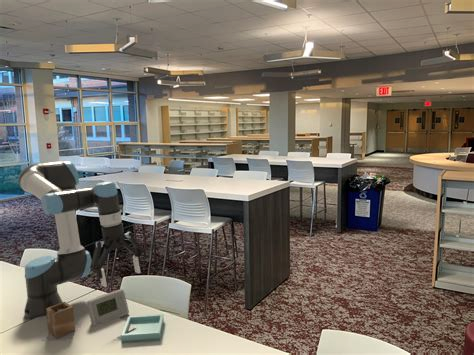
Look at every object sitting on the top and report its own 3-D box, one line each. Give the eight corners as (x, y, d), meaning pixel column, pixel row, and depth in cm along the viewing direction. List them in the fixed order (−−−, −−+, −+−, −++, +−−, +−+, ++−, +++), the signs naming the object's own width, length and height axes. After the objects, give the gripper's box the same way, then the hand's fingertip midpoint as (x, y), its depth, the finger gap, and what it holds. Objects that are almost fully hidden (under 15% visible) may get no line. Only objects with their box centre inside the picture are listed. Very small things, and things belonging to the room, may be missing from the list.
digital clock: (91, 330, 149) (89, 304, 148) (86, 320, 157) (84, 296, 155) (131, 317, 158) (130, 293, 157) (125, 309, 166) (123, 286, 164)
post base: (53, 329, 151) (50, 304, 149) (81, 327, 152) (79, 302, 150) (41, 344, 140) (38, 318, 138) (72, 342, 141) (69, 316, 139)
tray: (128, 323, 154) (128, 316, 153) (163, 321, 155) (163, 314, 155) (121, 343, 140) (120, 335, 140) (159, 340, 141) (159, 332, 141)
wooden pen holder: (48, 332, 145) (46, 308, 144) (66, 325, 151) (64, 301, 149) (57, 339, 141) (54, 314, 139) (75, 331, 146) (73, 306, 145)
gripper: (82, 235, 127) (93, 294, 130) (146, 216, 144) (155, 269, 147) (73, 232, 133) (84, 289, 136) (137, 214, 150) (145, 265, 152)
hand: (121, 279), depth 141 cm, fingers open, 13 cm apart
